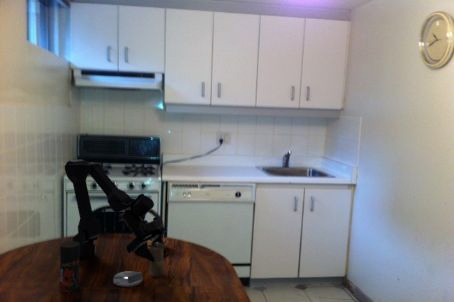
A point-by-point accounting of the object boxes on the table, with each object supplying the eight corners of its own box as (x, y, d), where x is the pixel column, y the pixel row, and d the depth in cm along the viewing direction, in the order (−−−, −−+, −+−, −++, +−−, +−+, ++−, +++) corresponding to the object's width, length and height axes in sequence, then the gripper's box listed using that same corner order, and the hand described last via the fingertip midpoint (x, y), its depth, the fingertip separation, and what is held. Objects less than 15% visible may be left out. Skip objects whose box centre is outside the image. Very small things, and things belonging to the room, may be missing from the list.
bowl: (107, 279, 135) (108, 270, 135) (131, 271, 142) (132, 262, 142) (124, 289, 128) (124, 279, 128) (148, 280, 136) (148, 271, 136)
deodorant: (82, 285, 130) (83, 242, 128) (70, 293, 124) (70, 248, 123) (68, 282, 132) (69, 240, 130) (55, 289, 126) (56, 245, 125)
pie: (144, 241, 175) (144, 231, 175) (174, 247, 170) (175, 236, 170) (124, 252, 161) (124, 241, 160) (157, 259, 156) (157, 247, 155)
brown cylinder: (149, 277, 139) (150, 246, 138) (149, 271, 143) (150, 241, 142) (163, 276, 140) (164, 245, 139) (162, 271, 145) (163, 241, 143)
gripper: (133, 217, 132) (160, 253, 129) (162, 205, 149) (186, 238, 146) (114, 235, 136) (139, 271, 133) (144, 222, 153) (167, 253, 150)
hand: (159, 257), depth 141 cm, fingers open, 8 cm apart
